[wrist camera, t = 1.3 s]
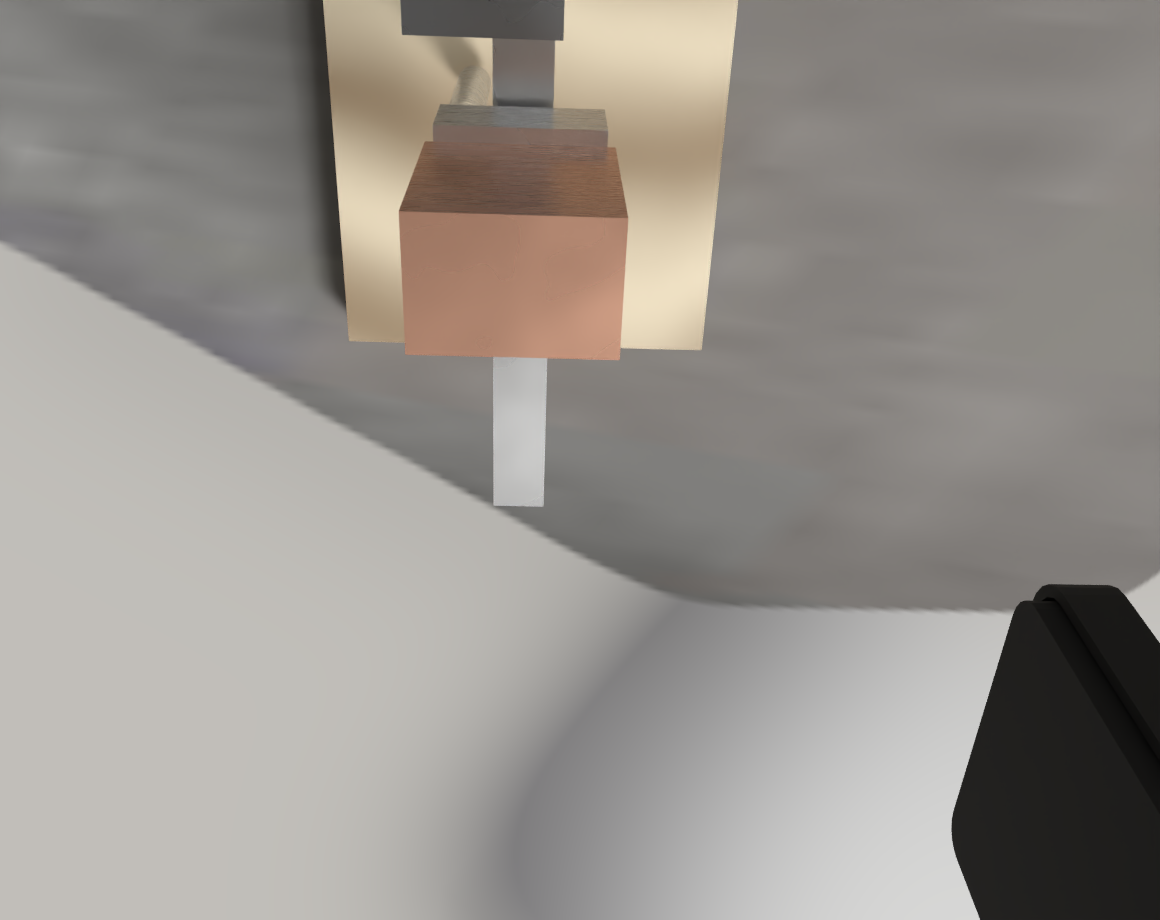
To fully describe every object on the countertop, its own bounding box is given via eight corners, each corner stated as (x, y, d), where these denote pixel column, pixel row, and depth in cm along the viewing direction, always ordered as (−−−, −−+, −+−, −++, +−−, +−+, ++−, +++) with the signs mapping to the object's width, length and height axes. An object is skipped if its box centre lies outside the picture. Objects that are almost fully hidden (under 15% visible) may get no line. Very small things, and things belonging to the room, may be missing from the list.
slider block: (456, 23, 29) (384, 191, 17) (596, 28, 29) (629, 198, 17) (458, 138, 30) (393, 370, 18) (591, 142, 31) (618, 376, 18)
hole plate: (320, -181, 28) (308, -181, 27) (745, -163, 29) (755, -161, 27) (356, 321, 35) (348, 342, 34) (696, 330, 36) (701, 351, 34)
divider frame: (441, -137, 27) (395, -111, 19) (563, -132, 27) (568, -104, 19) (452, 350, 34) (422, 518, 26) (550, 353, 34) (549, 520, 26)
